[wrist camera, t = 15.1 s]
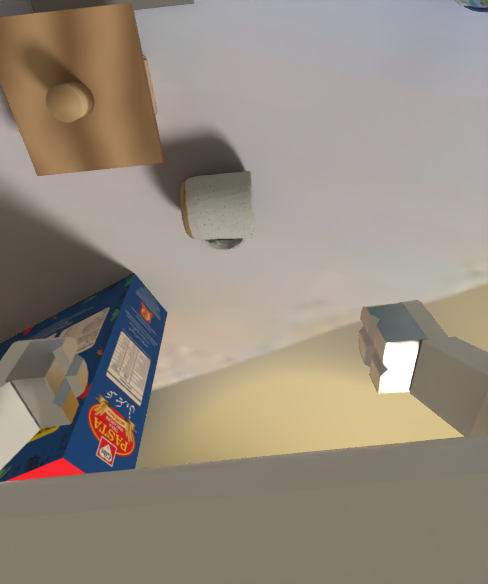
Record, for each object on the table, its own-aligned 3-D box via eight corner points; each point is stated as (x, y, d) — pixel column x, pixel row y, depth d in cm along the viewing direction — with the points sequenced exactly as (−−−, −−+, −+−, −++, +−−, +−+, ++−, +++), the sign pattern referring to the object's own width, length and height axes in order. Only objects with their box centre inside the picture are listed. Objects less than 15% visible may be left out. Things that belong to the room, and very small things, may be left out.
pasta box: (28, 379, 62) (-87, 578, 39) (-11, 349, 58) (-165, 550, 35) (167, 312, 56) (127, 502, 33) (134, 273, 52) (62, 457, 29)
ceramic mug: (181, 169, 44) (174, 192, 38) (249, 162, 44) (254, 183, 38) (196, 248, 50) (192, 278, 44) (256, 241, 50) (261, 271, 44)
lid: (132, 3, 31) (118, -3, 27) (164, 160, 39) (157, 174, 35) (-19, 20, 32) (-55, 16, 27) (41, 173, 39) (19, 188, 35)
